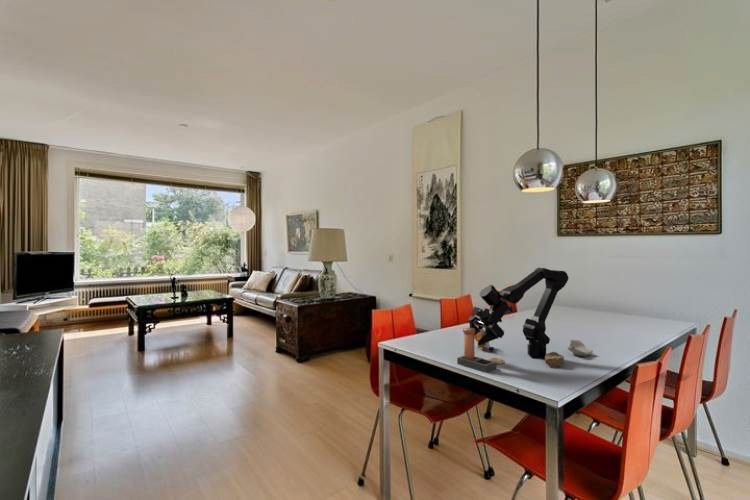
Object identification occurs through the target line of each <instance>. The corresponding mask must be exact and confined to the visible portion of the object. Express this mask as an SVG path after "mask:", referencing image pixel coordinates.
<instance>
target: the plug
mask: <svg viewBox="0 0 750 500" xmlns="http://www.w3.org/2000/svg"><path fill="white" fill-rule="evenodd" d="M462 332H463V343H464V344H463V346H464V347H463V348H464V349H463V350H464V354H463V356H464V359H467V360H470V361H471V360H474V359H475V357H476V355H475V354H476V353H475V351H476V350H475V338H474V333H475V329H474V328H469V327H464V328H462Z"/></svg>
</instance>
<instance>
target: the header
mask: <svg viewBox="0 0 750 500" xmlns="http://www.w3.org/2000/svg"><path fill="white" fill-rule="evenodd" d="M456 359H457V362H456V363H457V365H460V366H462V367H466V368H470V369H474V370H476V371H480V372H482V373H483V372H484V373H488V372H491V371H494V370H496V369H497V365H496V362H494V361H490V360H487V359H485V358H482V357H479V356H475V359H474V360H471V361H470V360H467V359H464V355H462V356H459V357H457V358H456Z"/></svg>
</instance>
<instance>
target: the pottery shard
mask: <svg viewBox="0 0 750 500" xmlns="http://www.w3.org/2000/svg"><path fill="white" fill-rule="evenodd" d="M569 343H570V344H569V346H566V348H567V350H568V351H569V352H571V353H573V355H575V356H579V357H586V356H588V355H591V354H593V351H594V350H593V349H589V348H587V347H586V345H585V343H583V342H582V340H578V339H570V342H569Z"/></svg>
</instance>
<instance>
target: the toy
mask: <svg viewBox="0 0 750 500" xmlns="http://www.w3.org/2000/svg"><path fill="white" fill-rule="evenodd" d="M484 333H485V328H482V329H481V330H480V332H479V333H477V334H476V335H474V340H475V341H476V342H477V343H478V342H479V340H480V339H481V337H482V336H483V334H484ZM476 346H477V349H482V350H484V349H485V347H486V349H487V350H488V352H493V351H495V347H494V346H490V341H489V342H487V343H484V344H482V345H480V346H479V345H478V344H477V345H476Z"/></svg>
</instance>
